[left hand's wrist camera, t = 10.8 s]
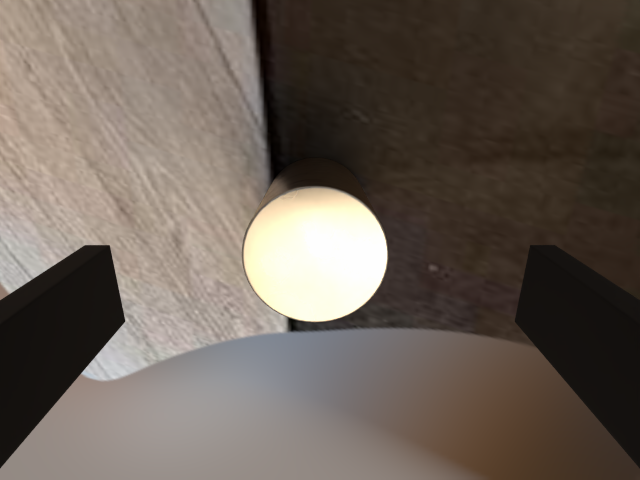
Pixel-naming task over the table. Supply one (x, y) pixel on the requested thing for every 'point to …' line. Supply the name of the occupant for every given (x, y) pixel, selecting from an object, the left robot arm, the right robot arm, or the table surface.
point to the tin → (315, 243)
